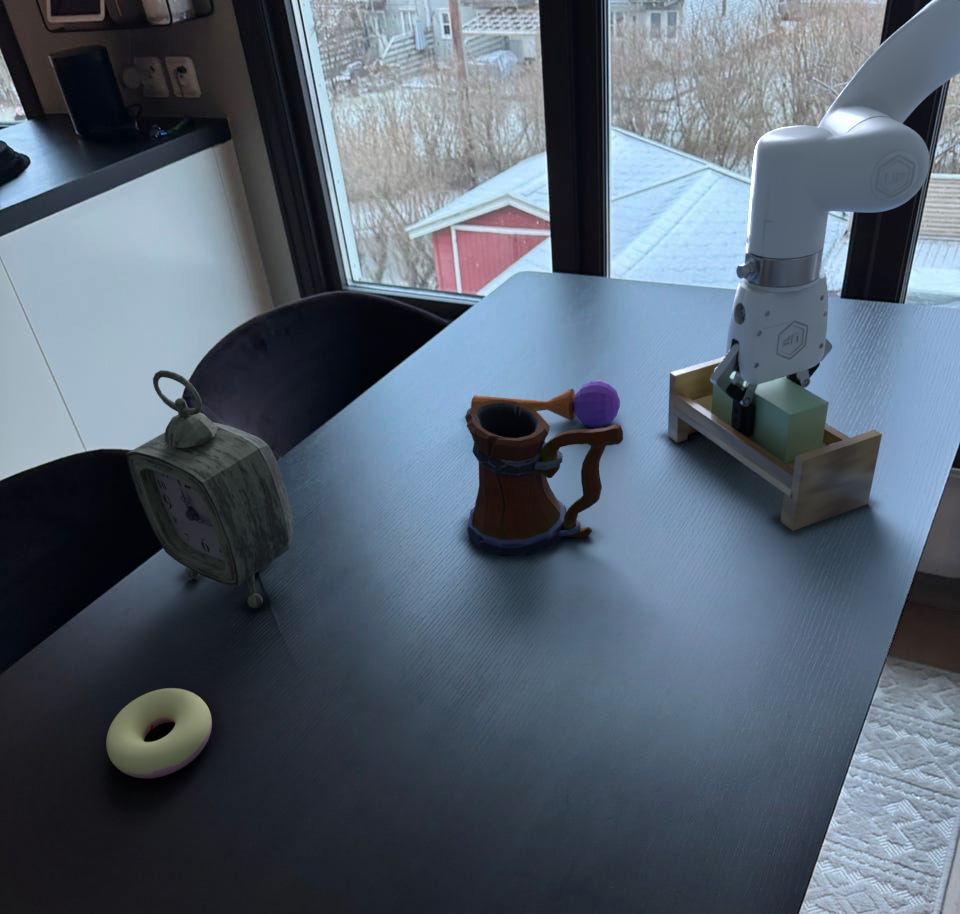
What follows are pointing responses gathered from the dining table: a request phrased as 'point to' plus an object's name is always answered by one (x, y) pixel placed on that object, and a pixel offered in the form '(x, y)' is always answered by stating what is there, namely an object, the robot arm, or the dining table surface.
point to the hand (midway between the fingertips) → (765, 423)
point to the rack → (805, 482)
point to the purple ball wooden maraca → (575, 403)
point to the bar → (780, 417)
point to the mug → (527, 478)
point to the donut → (167, 751)
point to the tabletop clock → (212, 495)
